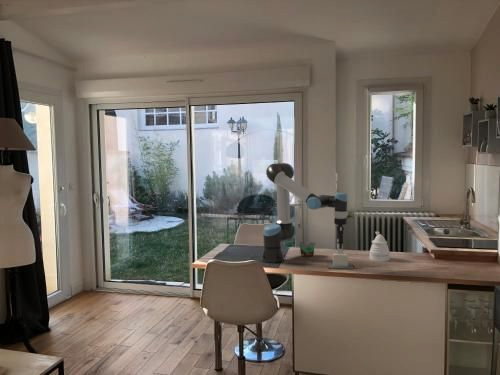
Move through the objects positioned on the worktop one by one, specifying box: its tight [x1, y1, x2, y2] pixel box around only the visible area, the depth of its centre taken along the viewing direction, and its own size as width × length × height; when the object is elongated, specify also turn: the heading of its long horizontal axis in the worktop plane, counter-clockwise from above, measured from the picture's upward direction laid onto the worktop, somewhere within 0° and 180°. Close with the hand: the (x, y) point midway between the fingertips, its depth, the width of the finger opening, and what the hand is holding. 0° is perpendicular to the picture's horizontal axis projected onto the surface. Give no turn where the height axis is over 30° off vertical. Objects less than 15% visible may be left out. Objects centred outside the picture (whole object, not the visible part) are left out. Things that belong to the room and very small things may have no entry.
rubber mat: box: [327, 261, 354, 270], centre depth 264 cm, size 15×13×1 cm
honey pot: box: [369, 231, 391, 262], centre depth 281 cm, size 13×13×18 cm
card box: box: [332, 252, 349, 266], centre depth 264 cm, size 5×9×7 cm, turn 81°
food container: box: [298, 240, 316, 258], centre depth 291 cm, size 12×6×10 cm, turn 112°
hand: (339, 251), depth 264 cm, fingers open, 13 cm apart
